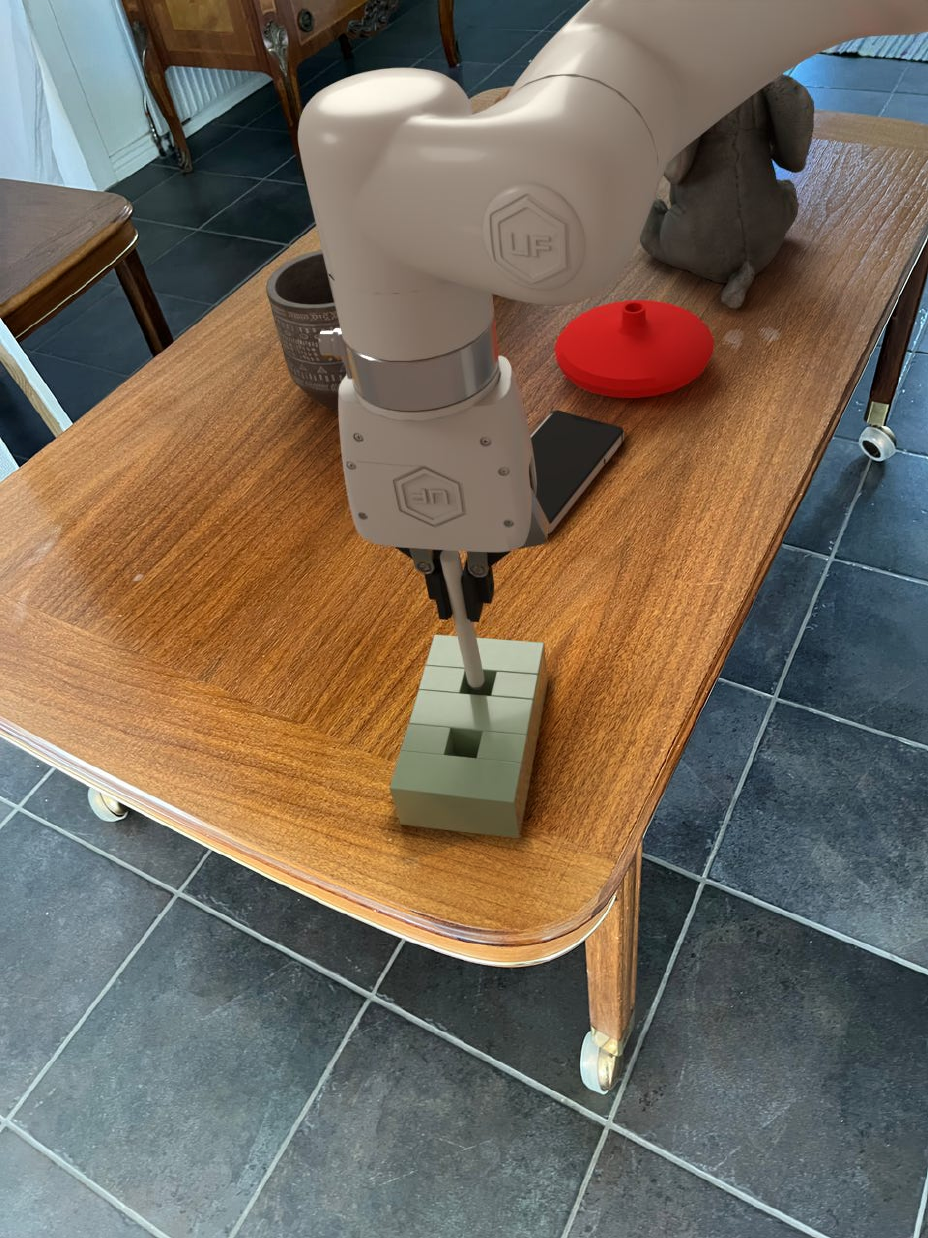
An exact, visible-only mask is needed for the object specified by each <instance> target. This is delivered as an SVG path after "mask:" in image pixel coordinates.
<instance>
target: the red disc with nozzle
mask: <svg viewBox="0 0 928 1238" xmlns="http://www.w3.org/2000/svg"><path fill="white" fill-rule="evenodd" d="M714 348H715V339H714V337H713V334H712V332H711V330H710V328H709V327H708V326H707V325H706V324H705V323H704V322H703V321H702V319H700V318H699V316H698V315H696V314H695V313H693V312H691V311H690V310H688V309H686V308H684V307H681V306H678V305H675V304H671V303H669V302H662V301H657V300H651V299H649V300H647V299H643V300H641V299H630V300H629V299H628V300H623V301H614V302H610V303H606V304H603V305H599V306H595V307H593V308H591V309H589V310H587V311H584V312H582V313H581V314H579V315H578V316H577V317H575V318H574V319H573V320H571V321H570V322H569V323H568V324H567V325H566V326H565V328H563V330H562V331H561V332H560V334H559V335H558V336H557V338H556V341H555V345H554V348H553V349H554V356H555V360H556V362H557V364H558V367H559V369H560V371H561V372H562V373H563V375H564V376H565V378H566V379H567V380H569V381H570V382H571V383H572V384H574V385H575V386H577V387H578V388H581V389H582V390H585V391H588V392H590V393H593V394H596V395H600V396H605V397H610V398H619V399H620V398H623V399H624V398H625V399H640V398H646V397H647V398H648V397H655V396H659V395H663V394H666V393H671V392H674V391H676V390H678V389H680V388H682V387H684V386H686V385H688V384H690V383H692V381H694V380H695V379H696V378H697V377H699V376H700V375H701V374H702V373H703V372H704V370H705V368H706V367H707V365H708V364H709V362H710V360H711V358H712V356H713V354H714Z"/></svg>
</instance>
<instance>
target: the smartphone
mask: <svg viewBox="0 0 928 1238" xmlns="http://www.w3.org/2000/svg"><path fill="white" fill-rule="evenodd" d="M530 437H531V442H532V448H533V454H534V461H535V469H536V479H537V492H536V498H537V500H538V502H539V504H540V506H541V508H542V510H543V512H544V514H545V516H546V518H547V520H548V522H549V524H550V527H549V532H548V534H550V533H552V532H553V531H554V530H555V528H556V527H557V526H558V524H559V523H560V522H562V520H563V518H565V516H566V515H567V514H568V512H569V510H570V509H571V508H572V507H573V506H574V504H575V503H576V502H577V501H578V500H579V498H580V497H581V495H582V494H583V493H584V492H585V491H586V490H587V488H588V487H589V485H590V484H591V483H592V482H593V480H594V479H595V477H596V476H597V475H598V474H599V473H600V472H601V470H602V469H603V468H604V466H605V465H606V464H607V463H608V462H609V460H610V459H611V458H612V457H613V455H614V454H615V453H616V452H617V450H618V448H619V447H620V446H621V444H622V443H623V442H624V441H625V430H624V428H623V427H622V426H619V425H616V424H612V423H611V424H610V423H608V422H604V421H600V420H596V419H592V418H590V417H589V418H588V417H586V416H582V415H578V414H574V413H571V412H567V411H563V410H559V409H558V410H553V411H550V413H549V414H548V415H547V416H546V417H545V419H543V421H542V422H541V423H539V425H538V427H536V429H535V430H534V431H533V432H532V433H530ZM509 521H510V520H509Z"/></svg>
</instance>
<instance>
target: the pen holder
mask: <svg viewBox="0 0 928 1238" xmlns="http://www.w3.org/2000/svg"><path fill="white" fill-rule="evenodd" d="M476 638H477V643H478V648H479V653H480V658H481V663H482V669H483V674H484V679H485V680H484V683H483V686H482V688H481V689H479V690H475V689H473V688H472V687H471V686H470V685H469V684H468V681H467V677H466V672H465V668H464V664H463V659H462V655H461V650H460V646H459V641H458V637H457V635H448V634H437V633H436V634H434V635H433V638H432V641H431V645H430V648H429V652H428V655H427V658H426V662H425V666H424V667H423V672H422V675H421V678H420V682H419V685H418V689H417V693H416V696H415V699H414V703H413V706H412V710H411V714H410V717H409V720H408V724H407V726H406V729H405V733H404V736H403V740H402V744H401V747H400V751H399V754H398V758H397V761H396V764H395V767H394V771H393V774H392V778H391V782H390V785H389V789H388V790H389V791H390V792H389V793H390V795H391V798H392V801H393V804H394V808H395V810H396V814H397V818H398V821H399V824H400V825H403V826H410V827H421V828H428V829H436V830H445V831H453V832H461V833H462V832H463V833H469V834H478V835H485V836H486V835H487V836H494V837H495V836H496V837H502V838H510V839H511V838H512V839H520V838H521V831H522V826H523V821H524V815H525V810H526V803H527V799H528V794H529V788H530V782H531V777H532V771H533V764H534V760H535V754H536V749H537V742H538V737H539V732H540V727H541V722H542V716H543V711H544V705H545V701H546V700H545V699H546V694H547V688H548V682H549V680H548V679H549V678H548V667H547V656H546V643H545V642H542V641H541V642H540V641H528V640H514V639H501V638H499V639H498V638H488V637H476Z"/></svg>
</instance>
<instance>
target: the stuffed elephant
mask: <svg viewBox="0 0 928 1238" xmlns="http://www.w3.org/2000/svg"><path fill="white" fill-rule="evenodd" d="M814 118H815V101H814V99H813V98H812V95H811V94H810V92H809V90H808V89H807V87H805V86H804V85H803V84H802V83H800V82H799V81H798V80H797V79H796V78H794V77H792V76H790V75H787V74H784V73H783V74H782V75H780V76H779V77H777V78H776V79H774V80H773V81H771V82H770V83H768V84H767V85H766V86H764V87H763V88H761V89H760V90H759V91H757V92H756V93H755V94H753V95H752V96H750V97H749V98H748V99H746V100H745V101H744V102H743V103H741V104H740V105H739V106H737V107H736V108H735V109H733V110H732V111H731V112H729V113H728V114H727V115H725V116H724V117H723V118H721V119H720V120H719V121H718V122H716V123H715V124H714V125H713V126H711V127H710V128H709V129H708V130H706V131H705V132H704V133H703V134H701V135H700V136H699V137H698V138H696V139H695V140H694V141H693V142H691V143H690V144H689V145H687V146H686V147H685V148H684V149H683V150H682V151H681V152H679V153H678V154H677V155H676V156H675V157H674V158H673V159H672V160H671V161H670V162H669V163H668V165H667V168H666V170H665V172H664V175H663V177H664V178H665V180H666V181H667V182H668V183H669V186H670V187H669V192H668V198H669V203H670V207H668V205H667V204H666V203H665V202H666V201H665V200H662V199H661V198H657V197H655V198H654V202H653V205H652V207H651V210H650V212H649V215H648V218H647V220H646V223H645V225H644V228H643V230H642V233H641V236H640V238H639V242H640V245H641V247H642V249H644V251H645V252H646V253H647V254H648V255H650V257H651V258H653V259H656V260H657V261H659V262H662V263H664V264H666V265H670V266H671V267H672V268H677V269H680V270H684V271H689V272H691V273H692V274H693V275H696V276H697V277H699V278H703V279H707V280H711V281H712V282H714V283H717V284H726V285H725V287H724V288H723V290H722V292H721V300H720V301H721V303H722V304H724V305H726V306H727V307H729V308H730V309H732V310H737V309H739V308H740V307H741V306H742V305H743V303H744V301H745V299H746V298H745V297H746V294H747V292H748V290H749V288H750V287H751V285H752V284H753V281H754V280H755V276H756V275H757V274H759V273H760V272H762V270H764V269H765V268H766V267H768V265H769V264H770V263H771V262H772V260H774V258H775V256H776V255H777V254H778V252H779V250H780V248H781V247H782V246H783V243H784V240H785V238H786V235H787V234H788V232H789V230H790V229H791V227H792V226H793V225H794V222H795V220H796V219H797V216H798V214H799V206H800V203H799V199H798V193H797V188H796V185H795V183H794V182H793V181H792V180H790V179H785V178H784V179H779V178H777V172H776V169H775V166H774V164H776V166H777V167H779V168H780V169H782V170H785V171H787V172H790V173H793V174H798V173H801V172H803V171H804V170H805V168H806V166H807V159H808V156H809V155H810V148H811V146H812V141H813V133H814V128H815V123H814V122H815V121H814Z"/></svg>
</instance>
